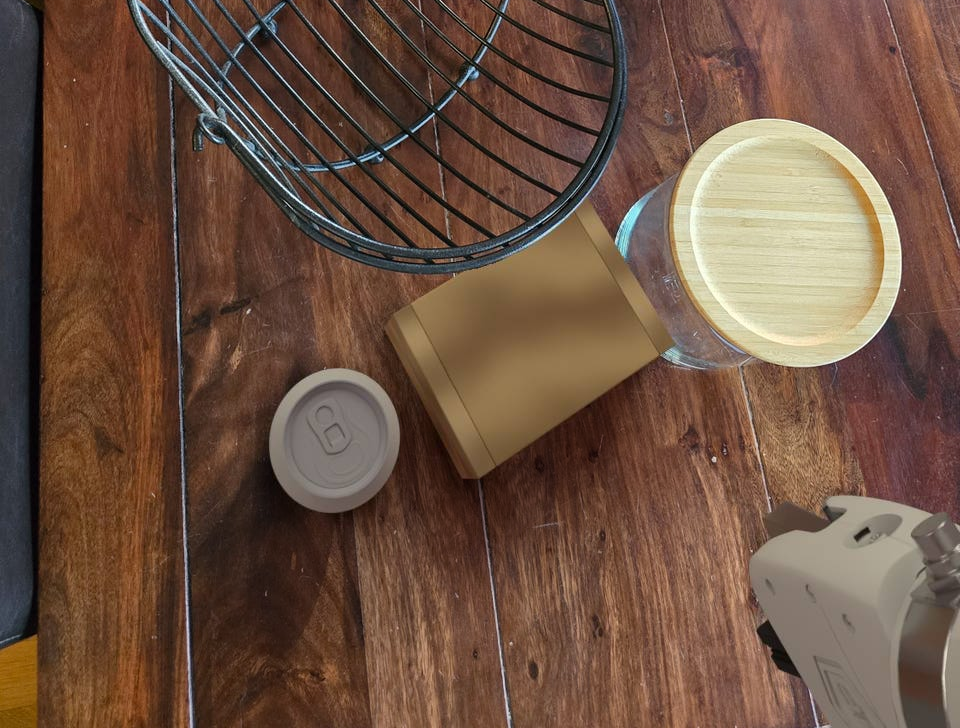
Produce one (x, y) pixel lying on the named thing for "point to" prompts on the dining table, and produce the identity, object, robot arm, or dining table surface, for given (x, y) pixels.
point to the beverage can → (334, 440)
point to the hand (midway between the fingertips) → (792, 626)
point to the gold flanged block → (526, 341)
